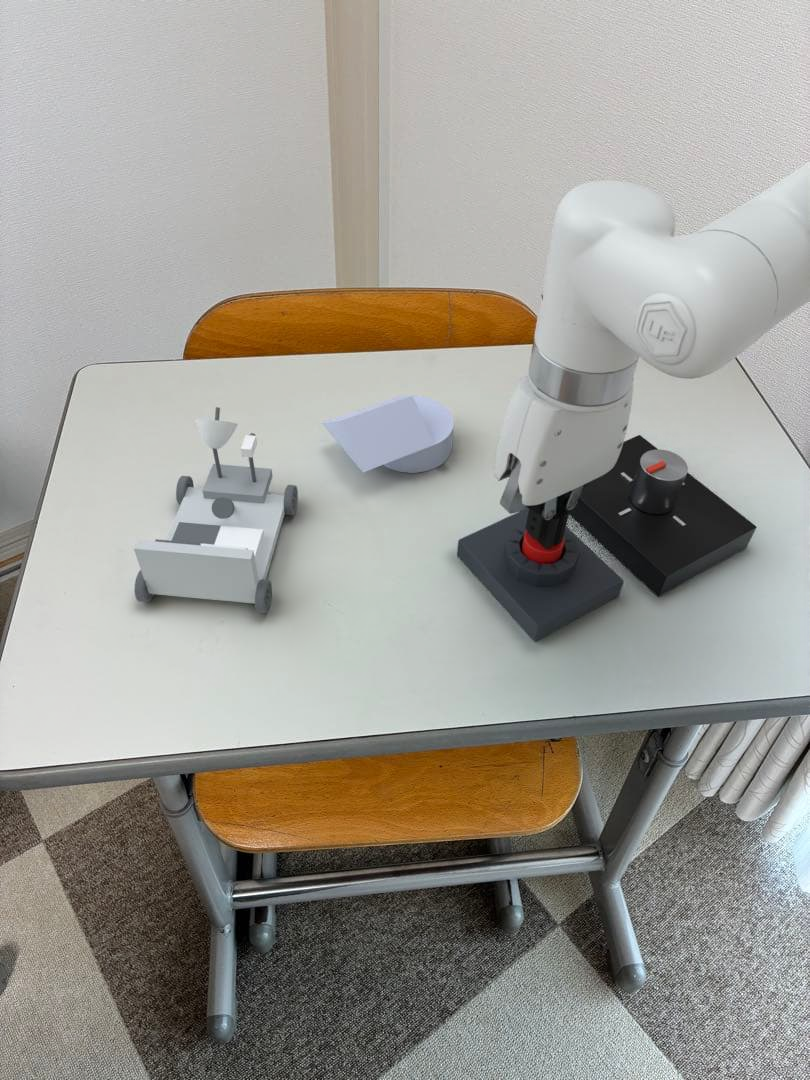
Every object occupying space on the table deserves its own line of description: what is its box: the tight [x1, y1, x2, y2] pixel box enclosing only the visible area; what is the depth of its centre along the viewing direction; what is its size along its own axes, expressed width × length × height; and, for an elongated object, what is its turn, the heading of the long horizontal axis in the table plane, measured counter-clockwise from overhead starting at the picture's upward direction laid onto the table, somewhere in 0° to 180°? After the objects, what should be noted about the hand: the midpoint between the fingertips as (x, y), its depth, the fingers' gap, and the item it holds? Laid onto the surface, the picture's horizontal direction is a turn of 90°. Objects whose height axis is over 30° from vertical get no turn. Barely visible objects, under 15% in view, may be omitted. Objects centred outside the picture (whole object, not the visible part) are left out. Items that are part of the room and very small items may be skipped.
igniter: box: [456, 508, 625, 642], centre depth 74 cm, size 12×10×4 cm
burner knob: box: [630, 448, 689, 514], centre depth 76 cm, size 4×4×5 cm
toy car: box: [133, 406, 299, 614], centre depth 74 cm, size 18×10×12 cm
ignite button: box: [522, 530, 564, 564], centre depth 72 cm, size 4×4×2 cm
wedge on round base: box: [321, 394, 455, 474], centre depth 84 cm, size 9×7×13 cm
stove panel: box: [568, 434, 758, 598], centre depth 79 cm, size 16×12×3 cm
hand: (543, 536), depth 71 cm, fingers closed
